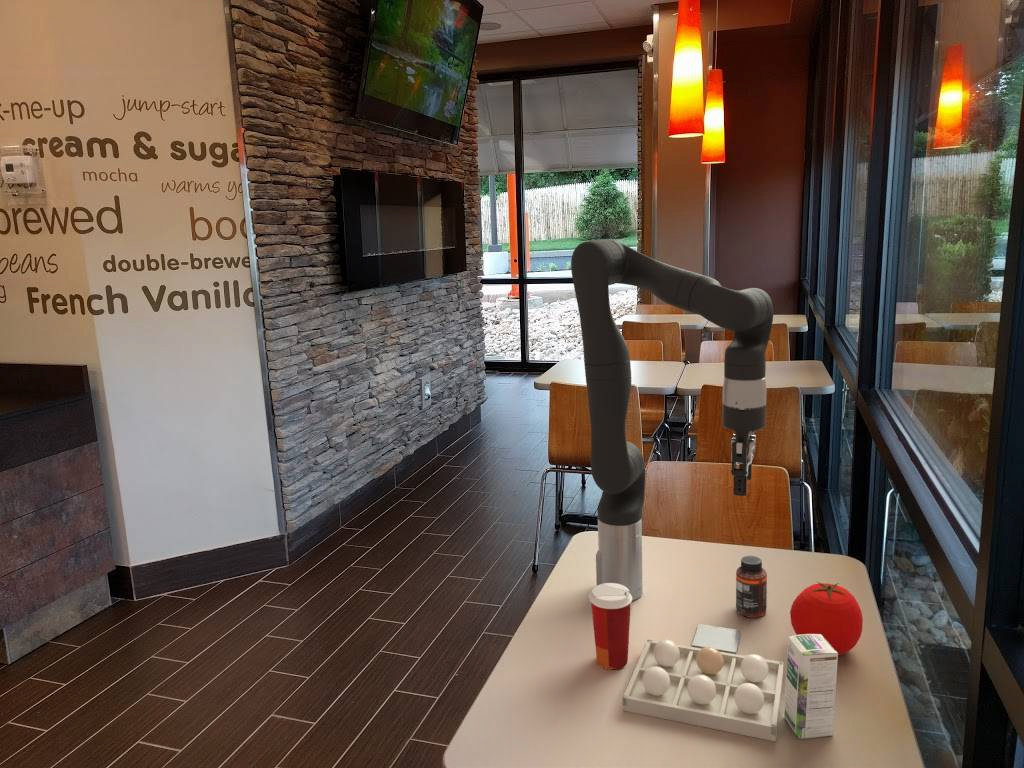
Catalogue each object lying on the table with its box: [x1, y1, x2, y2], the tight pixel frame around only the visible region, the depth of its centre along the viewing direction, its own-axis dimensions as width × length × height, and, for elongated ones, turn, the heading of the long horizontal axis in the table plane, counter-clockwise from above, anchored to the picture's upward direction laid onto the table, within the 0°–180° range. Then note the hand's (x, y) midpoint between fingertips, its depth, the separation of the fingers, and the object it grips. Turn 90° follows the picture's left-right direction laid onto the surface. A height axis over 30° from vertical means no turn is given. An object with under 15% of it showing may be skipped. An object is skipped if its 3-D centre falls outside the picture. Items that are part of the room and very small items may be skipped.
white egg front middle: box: [687, 675, 716, 705], centre depth 127 cm, size 5×5×5 cm
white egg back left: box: [654, 639, 680, 667], centre depth 137 cm, size 5×5×5 cm
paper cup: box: [588, 583, 633, 670], centre depth 140 cm, size 8×8×14 cm
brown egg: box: [696, 647, 724, 675], centre depth 135 cm, size 5×5×5 cm
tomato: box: [789, 581, 864, 656], centre depth 141 cm, size 12×12×13 cm
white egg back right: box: [740, 653, 769, 683], centre depth 132 cm, size 5×5×5 cm
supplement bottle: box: [735, 555, 768, 618], centre depth 155 cm, size 6×6×11 cm
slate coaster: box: [691, 623, 742, 654], centre depth 147 cm, size 8×8×1 cm
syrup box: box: [783, 634, 839, 740], centre depth 120 cm, size 6×6×14 cm
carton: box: [622, 639, 785, 742], centre depth 131 cm, size 24×18×6 cm
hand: (742, 486), depth 142 cm, fingers open, 8 cm apart
